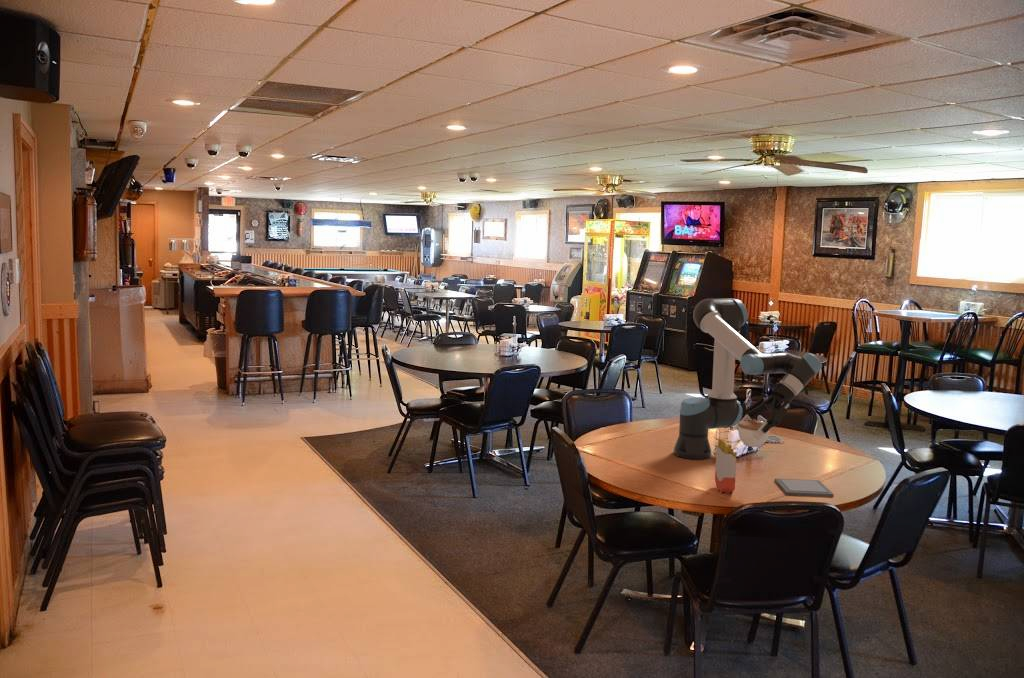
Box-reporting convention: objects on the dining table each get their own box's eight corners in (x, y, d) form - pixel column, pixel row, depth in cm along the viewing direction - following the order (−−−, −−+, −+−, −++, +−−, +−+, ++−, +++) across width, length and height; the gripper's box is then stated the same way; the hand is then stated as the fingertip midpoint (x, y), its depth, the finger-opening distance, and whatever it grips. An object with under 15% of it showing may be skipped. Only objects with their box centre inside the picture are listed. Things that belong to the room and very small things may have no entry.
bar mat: (786, 494, 271) (786, 491, 271) (774, 480, 287) (774, 477, 287) (833, 496, 270) (833, 493, 270) (818, 482, 286) (818, 479, 286)
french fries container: (727, 485, 280) (729, 437, 278) (735, 495, 269) (738, 445, 267) (714, 485, 280) (717, 437, 278) (722, 495, 269) (725, 444, 267)
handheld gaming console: (784, 443, 343) (786, 421, 341) (764, 443, 343) (765, 421, 341) (774, 436, 356) (776, 415, 354) (755, 435, 356) (756, 414, 354)
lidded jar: (762, 450, 269) (764, 424, 268) (732, 445, 276) (734, 419, 275) (772, 444, 278) (774, 419, 277) (743, 439, 284) (745, 414, 283)
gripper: (813, 403, 268) (771, 449, 266) (773, 390, 290) (734, 432, 288) (801, 388, 266) (759, 435, 263) (762, 376, 288) (722, 419, 285)
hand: (746, 433), depth 275 cm, fingers closed on lidded jar, 11 cm apart
